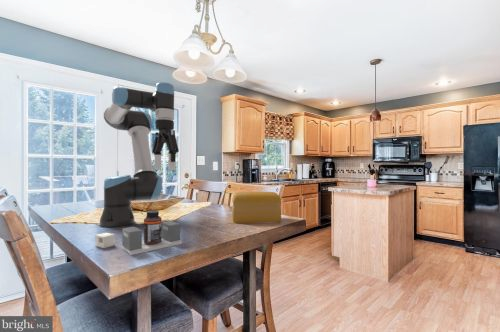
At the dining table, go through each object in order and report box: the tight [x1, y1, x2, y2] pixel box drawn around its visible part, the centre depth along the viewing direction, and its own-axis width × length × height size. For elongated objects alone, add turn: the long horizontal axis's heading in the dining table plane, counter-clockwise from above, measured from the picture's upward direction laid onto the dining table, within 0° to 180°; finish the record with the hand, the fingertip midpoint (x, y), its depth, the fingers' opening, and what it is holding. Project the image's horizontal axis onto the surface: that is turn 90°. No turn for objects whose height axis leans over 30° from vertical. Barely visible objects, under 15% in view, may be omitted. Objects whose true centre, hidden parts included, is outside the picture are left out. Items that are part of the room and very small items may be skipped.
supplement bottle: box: [143, 209, 163, 245], centre depth 94 cm, size 6×6×11 cm
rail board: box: [120, 220, 183, 256], centre depth 94 cm, size 10×18×7 cm, turn 133°
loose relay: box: [95, 232, 116, 249], centre depth 93 cm, size 5×4×4 cm
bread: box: [231, 191, 282, 224], centre depth 137 cm, size 24×13×15 cm, turn 96°
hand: (164, 169), depth 112 cm, fingers open, 13 cm apart
